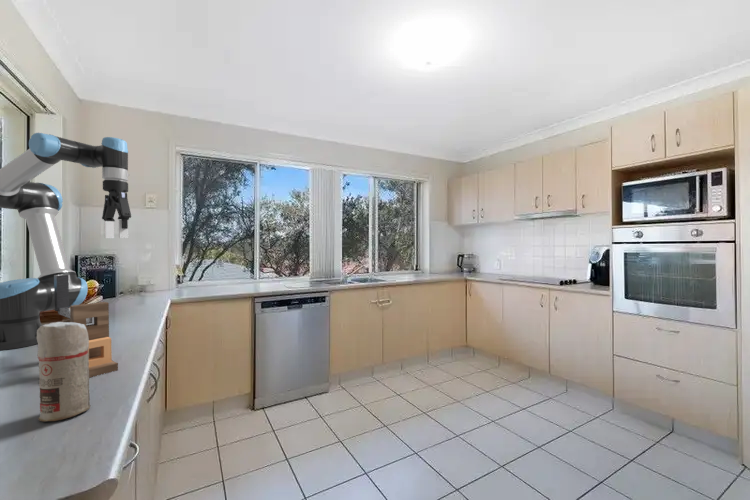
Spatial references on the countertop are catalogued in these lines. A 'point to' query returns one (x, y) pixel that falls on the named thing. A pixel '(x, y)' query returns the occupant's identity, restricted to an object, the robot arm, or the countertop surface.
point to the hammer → (63, 296)
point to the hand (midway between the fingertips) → (116, 238)
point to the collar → (105, 351)
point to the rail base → (94, 330)
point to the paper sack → (63, 370)
